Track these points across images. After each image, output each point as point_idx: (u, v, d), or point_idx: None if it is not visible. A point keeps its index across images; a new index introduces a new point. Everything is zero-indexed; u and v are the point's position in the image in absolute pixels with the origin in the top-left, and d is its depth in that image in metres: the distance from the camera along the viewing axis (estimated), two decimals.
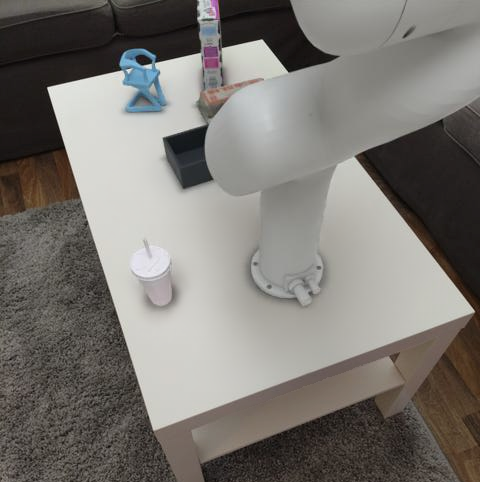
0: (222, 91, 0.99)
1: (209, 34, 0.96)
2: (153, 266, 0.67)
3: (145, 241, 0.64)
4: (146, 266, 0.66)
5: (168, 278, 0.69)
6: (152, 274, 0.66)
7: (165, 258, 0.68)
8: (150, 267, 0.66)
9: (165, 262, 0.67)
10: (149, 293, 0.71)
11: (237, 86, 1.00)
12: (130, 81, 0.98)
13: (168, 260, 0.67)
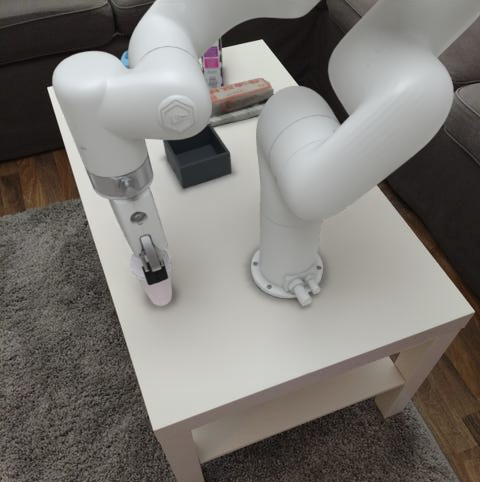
0: (222, 91, 0.99)
1: None
2: None
3: None
4: None
5: (168, 278, 0.69)
6: None
7: (165, 258, 0.67)
8: None
9: (165, 262, 0.67)
10: (149, 293, 0.71)
11: (237, 86, 1.00)
12: None
13: (168, 260, 0.67)
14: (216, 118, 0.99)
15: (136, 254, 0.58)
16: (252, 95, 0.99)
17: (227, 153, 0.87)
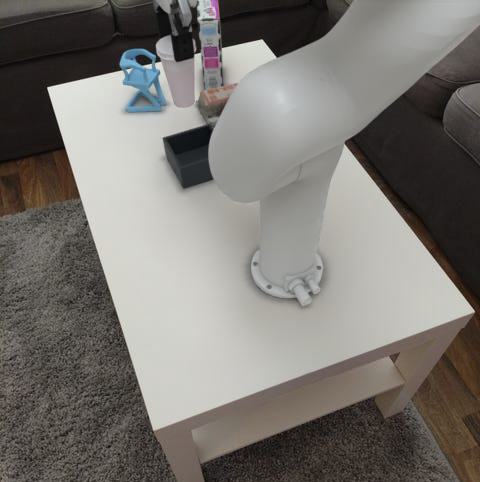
0: (222, 91, 0.99)
1: (209, 34, 0.96)
2: None
3: None
4: None
5: (192, 67, 0.72)
6: None
7: None
8: None
9: None
10: (173, 86, 0.73)
11: None
12: (130, 81, 0.98)
13: (193, 43, 0.70)
14: (216, 118, 0.99)
15: (167, 4, 0.61)
16: None
17: None
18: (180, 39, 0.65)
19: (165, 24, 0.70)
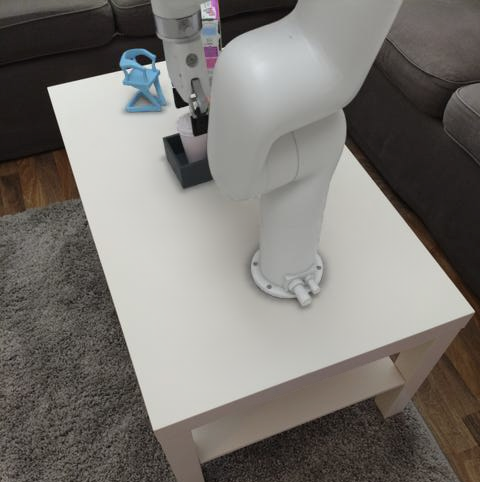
0: None
1: (209, 34, 0.96)
2: None
3: None
4: (189, 125, 0.84)
5: (205, 139, 0.86)
6: None
7: None
8: None
9: None
10: (189, 154, 0.88)
11: None
12: (130, 81, 0.98)
13: None
14: None
15: (187, 97, 0.75)
16: None
17: None
18: (198, 120, 0.78)
19: (180, 96, 0.84)
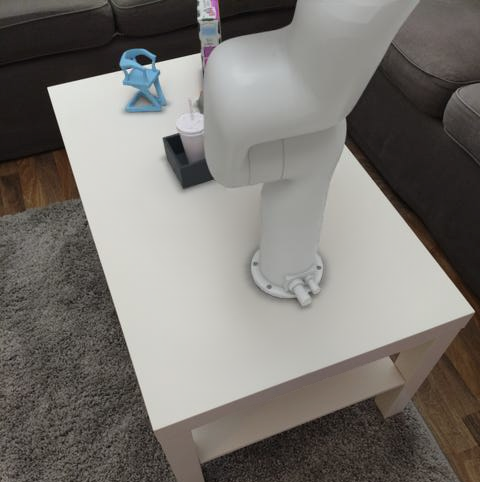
0: None
1: (209, 34, 0.96)
2: (195, 125, 0.84)
3: (190, 101, 0.81)
4: (189, 125, 0.84)
5: None
6: (194, 130, 0.83)
7: None
8: (192, 125, 0.84)
9: None
10: (189, 154, 0.88)
11: None
12: (130, 81, 0.98)
13: None
14: None
15: None
16: None
17: None
18: None
19: None
